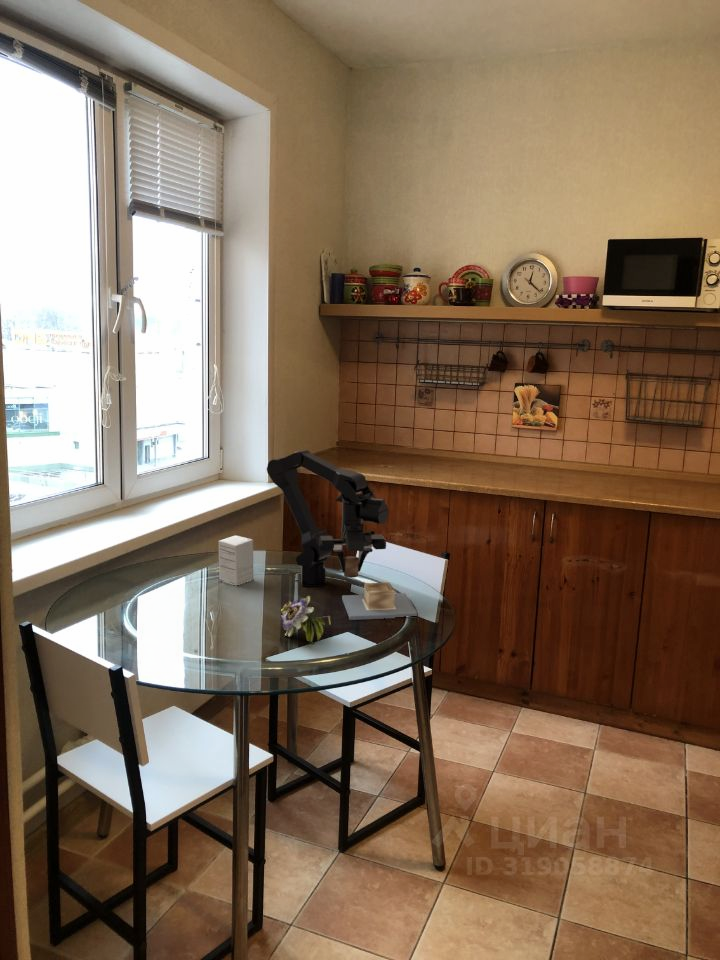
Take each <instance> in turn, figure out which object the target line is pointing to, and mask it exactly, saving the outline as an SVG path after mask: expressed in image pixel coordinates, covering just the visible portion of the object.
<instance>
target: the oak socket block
mask: <svg viewBox="0 0 720 960" xmlns="http://www.w3.org/2000/svg"><path fill="white" fill-rule="evenodd" d="M363 590H364V591H363V595H364V601H365V603H366V605H367V607H368V609H388V608H394V598H395V594H396V593H395V592H396V591H395V589H394V587H393V585H392V584H391V582H389V581H387V582H384V581H383V582H364V589H363Z"/></svg>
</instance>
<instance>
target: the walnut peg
mask: <svg viewBox="0 0 720 960" xmlns="http://www.w3.org/2000/svg"><path fill="white" fill-rule="evenodd" d="M358 563H359V558H358V556H352V555H351V556H350V555H349V556H344V564H345V572H343V575H344V577H346V578H358V576H359V572H358Z"/></svg>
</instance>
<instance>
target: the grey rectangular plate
mask: <svg viewBox="0 0 720 960" xmlns="http://www.w3.org/2000/svg"><path fill="white" fill-rule="evenodd" d="M341 600H342V602H343V605H344V608H345V610H346V614H347V615H348V619H349V620H350V621H356V620H358V621H359V620H382V619H383V620H384V618H385V619H396V618H395V617H404V616H417V617H418V612H417V611H416V608H415V607H414V606H413V604H412V602H411V600H410V599H409V597H408V596H407V593H405V592H404V593H402V592H400V593H399V592H398V593H395V598H394V608H388V609H368V607H367V605H366V603H365V601H364V594H350V595H349V594H347V595H346V594H345V595H342V596H341Z"/></svg>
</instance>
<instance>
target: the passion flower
mask: <svg viewBox="0 0 720 960" xmlns="http://www.w3.org/2000/svg"><path fill="white" fill-rule="evenodd" d="M310 602H311V595H307V596H306V598H299V599H296V601H295V600H293V601H292V602H291V600H288V602H286V603H285V604H284V605H283V607H282V608H281V610H280V611H281V612H280V616H281V623H282V628H283V629H284V631H286V632H285V633H284V635H285V636H287V635H288V636H287V637H289V638H291V637H292V636H294V634H295V632H296V630H300V629H302V630H303V631H304V632H305V638H306V641H311V642H312V643H313V640H314V636H315V633H316V638H317V641H319V640H320V639H321V637H322V636H323V634H324V626H325V625H326V624H325V620H323V618H327V620H328V626H331V624H332V623H331V615H327V616H326V615H325V616H320V617H316V616H315V617H313V612H314V610H315V608H314V607H313V606H308V605H309V604H310ZM314 630H315V631H314ZM314 632H315V633H314ZM285 636H284V637H285Z"/></svg>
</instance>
